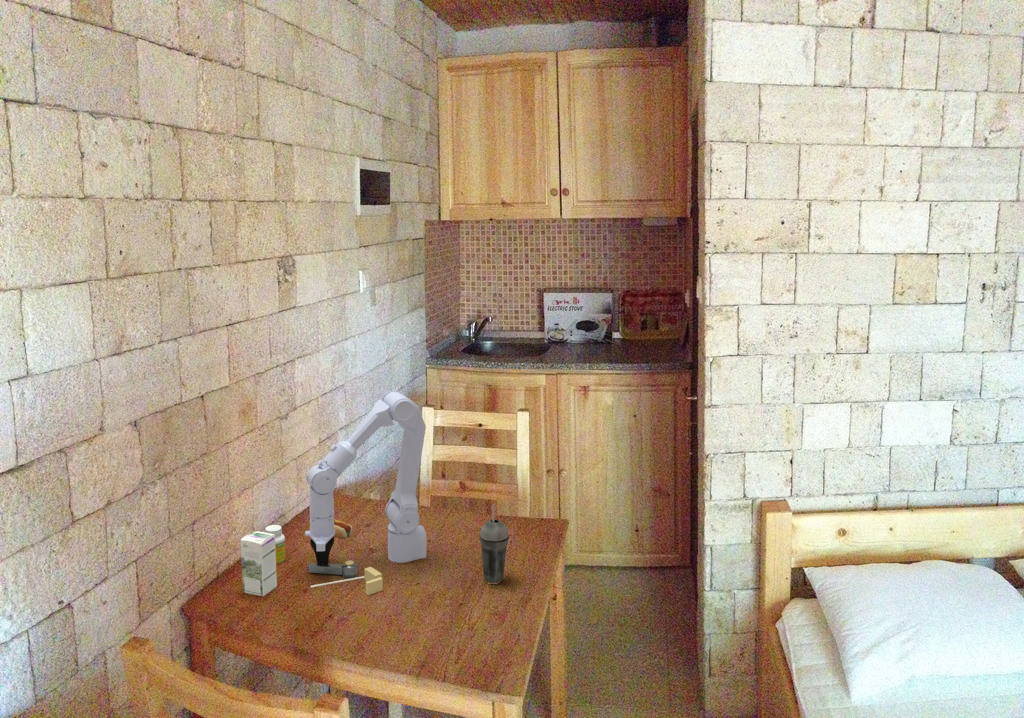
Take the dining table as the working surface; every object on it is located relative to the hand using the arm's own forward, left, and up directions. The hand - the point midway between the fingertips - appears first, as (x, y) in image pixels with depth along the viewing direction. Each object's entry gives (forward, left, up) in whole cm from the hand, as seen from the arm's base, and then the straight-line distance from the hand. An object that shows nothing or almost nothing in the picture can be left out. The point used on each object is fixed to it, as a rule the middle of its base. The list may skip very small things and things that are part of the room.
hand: (322, 566), depth 204 cm
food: (-8, -23, -3) cm, 25 cm away
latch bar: (-2, +3, -1) cm, 4 cm away
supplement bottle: (+10, -11, -2) cm, 15 cm away
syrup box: (+16, +4, -2) cm, 16 cm away
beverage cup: (-37, +19, -2) cm, 42 cm away
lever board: (-3, +9, -2) cm, 10 cm away
